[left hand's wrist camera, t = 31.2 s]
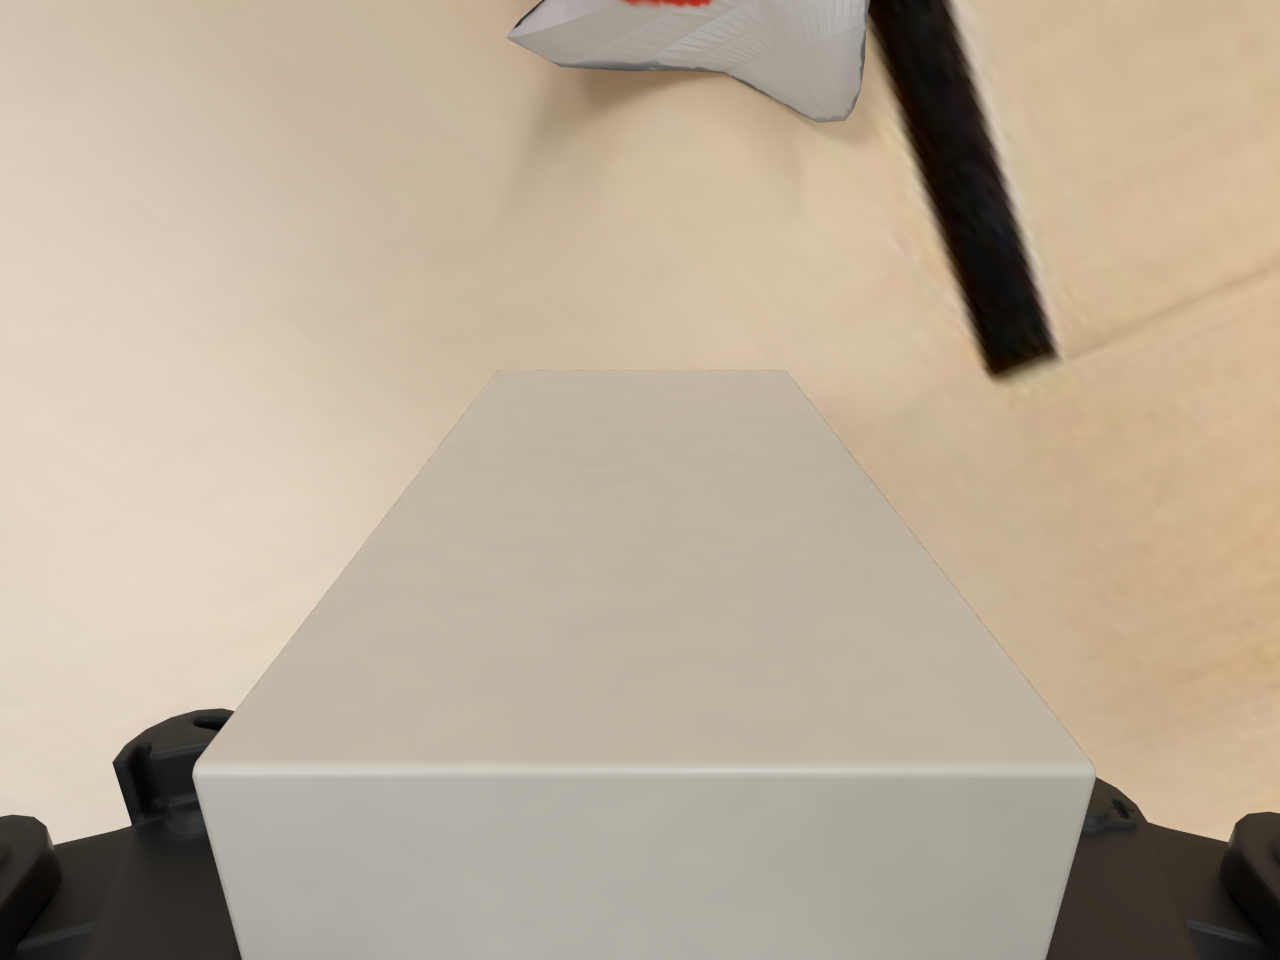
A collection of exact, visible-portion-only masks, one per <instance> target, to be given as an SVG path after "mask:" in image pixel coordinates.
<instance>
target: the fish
mask: <svg viewBox="0 0 1280 960" xmlns="http://www.w3.org/2000/svg"><path fill="white" fill-rule="evenodd" d="M869 2H870V0H542V1H541V2H540V3H539V4H538V5H536V6H535V7H534V8H533V9H532V10H531V11H530V12H529V13H527V14H526V15H525V16H524V17H523V18H522V19H521V20H520V21H519V22H518V23H517V25H516V26H515V27H514V28H513V30H512V31H511V32H510V34H509V35H508V36H507V37H506V38H507V39H509V40H511V41H513V42H515V43H517V44H518V45H520V46H522V47H524V48H526V49H528V50H530V51H532V52H534V53H536V54H538V55H540V56H541V57H543V58H545V59H547V60H549V61H551V62H553V63H555V64H557V65H559V66H561V67H572V68H589V69H606V70H623V71H658V70H687V71H703V72H718V73H726V74H728V75H730V76H732V77H733V78H735V79H737V80H739V81H741V82H743V83H745V84H746V85H748V86H750V87H752V88H754V89H756V90H758V91H760V92H762V93H764V94H766V95H768V96H770V97H772V98H774V99H776V100H778V101H780V102H782V103H783V104H785V105H786V106H788V107H790V108H791V109H793V110H795V111H796V112H798V113H799V114H801V115H803V116H805V117H808V118H810V119H812V120H814V121H816V122H834V121H845V120H846V119H847V117H848V116H849V114H850V113H851V112H852V110H853V109H854V106H855V103H856V100H857V98H858V95H859V92H860V89H861V82H862V75H863V67H864V60H865V39H866V20H867V14H868V8H869Z"/></svg>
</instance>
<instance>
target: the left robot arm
mask: <svg viewBox="0 0 1280 960" xmlns="http://www.w3.org/2000/svg"><path fill="white" fill-rule="evenodd" d="M234 712H235V711H231V710H226V709H222V708H221V709H207V710H197V711H193V712H189V713H186V714H182V715H179V716H175V717H171V718H169V719H167V720H165V721H163V722H161V723H159V724H157V725H155V726H153V727H150V728H148V729H146V730H145V731H144V732H142V733H141V734H140V735H138V736H137V737H136V738H134V739H133V740H132V741H130V742H129V743H128V744H126V745H125V746H124V748H123V749H122V750H121V752H120V753H119V754H118V756H117V757H116V758H115V760H114V761H113V762H112V763H113V766H114V769H115V772H116V776H117V779H118V782H119V785H120V788H121V791H122V794H123V798H124V801H125V804H126V807H127V810H128V813H129V816H130V820H131V823H132V825H131V826H129V827H126V828H123V829H119V830H116V831H112V832H108V833H104V834H99V835H95V836H91V837H86V838H82V839H78V840H74V841H70V842H65V843H61V844H57V845H53V843H52V841H51V838H50V835H49V833H48V830H47V827H46V826H45V825H44V824H43V823H41V822H40V821H39V820H37V819H36V818H35V817H29V816H20V815H8V816H3V817H0V960H242V958H241V954H240V950H239V947H238V943H237V939H236V936H235V932H234V928H233V925H232V921H231V917H230V914H229V910H228V906H227V903H226V899H225V895H224V891H223V888H222V884H221V880H220V877H219V873H218V869H217V866H216V862H215V858H214V855H213V851H212V847H211V844H210V840H209V836H208V832H207V829H206V825H205V821H204V818H203V814H202V810H201V807H200V803H199V799H198V796H197V792H196V788H195V784H194V781H193V777H192V775H193V769H194V765H195V763H196V761H197V760H198V759H199V757H200V756H201V755H202V753H203V752H204V751H205V750H206V748H207V747H208V746H209V744H210V743H211V742H212V740H213V739H214V738H215V737H216V735H217V734H218V733H219V731H220V730H221V729H222V727H223V726H224V725H225V724H226V722H227V721H228V720H229V718H230V717H231V716H232V714H233V713H234ZM1046 960H1280V814H1279V813H1274V812H1262V813H1252V814H1247V815H1246V816H1245V817H1243V818H1242V819H1241V820H1239V821H1238V822H1237V823H1236V824H1235V826H1234V829H1233V832H1232V835H1231V837H1230V840H1229V842H1224V841H1220V840H1216V839H1212V838H1207V837H1203V836H1199V835H1194V834H1190V833H1186V832H1182V831H1177V830H1173V829H1169V828H1165V827H1162V826H1158V825H1155V824H1152V823H1148V822H1147V820H1146V819H1145V817H1144V816H1143V814H1142V813H1141V811H1140V810H1139V808H1138V807H1137V805H1136V804H1135V803H1134V802H1132V801H1131V800H1130V799H1129V798H1128V797H1127V796H1125V795H1124V794H1123V793H1122V792H1121V791H1120V790H1118V789H1117V788H1116V787H1114V786H1112V785H1110V784H1108V783H1106V782H1104V781H1103V780H1101V779H1099V778H1097V777H1096V779H1095V783H1094V786H1093V790H1092V794H1091V797H1090V801H1089V804H1088V808H1087V812H1086V815H1085V819H1084V822H1083V826H1082V830H1081V833H1080V837H1079V841H1078V844H1077V848H1076V851H1075V855H1074V859H1073V862H1072V866H1071V870H1070V873H1069V877H1068V880H1067V884H1066V888H1065V891H1064V895H1063V898H1062V902H1061V906H1060V909H1059V913H1058V917H1057V920H1056V924H1055V927H1054V931H1053V935H1052V938H1051V942H1050V946H1049V949H1048V953H1047V956H1046Z"/></svg>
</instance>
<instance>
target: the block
mask: <svg viewBox="0 0 1280 960" xmlns="http://www.w3.org/2000/svg"><path fill="white" fill-rule="evenodd" d="M192 777H193V781H194V784H195V788H196V792H197V796H198V799H199V803H200V807H201V810H202V814H203V818H204V821H205V825H206V829H207V832H208V836H209V840H210V844H211V847H212V851H213V855H214V858H215V862H216V866H217V869H218V873H219V877H220V880H221V884H222V888H223V891H224V895H225V899H226V903H227V906H228V910H229V914H230V917H231V921H232V925H233V928H234V932H235V936H236V939H237V943H238V947H239V950H240V954H241V958H242V960H1046V956H1047V953H1048V949H1049V946H1050V942H1051V938H1052V935H1053V931H1054V927H1055V924H1056V920H1057V917H1058V913H1059V909H1060V906H1061V902H1062V898H1063V895H1064V891H1065V888H1066V884H1067V880H1068V877H1069V873H1070V870H1071V866H1072V862H1073V859H1074V855H1075V851H1076V848H1077V844H1078V841H1079V837H1080V833H1081V830H1082V826H1083V822H1084V819H1085V815H1086V812H1087V808H1088V804H1089V801H1090V797H1091V794H1092V790H1093V786H1094V783H1095V779H1096V773H1095V768H1094V765H1093V763H1092V761H1091V760H1090V759H1089V758H1088V756H1087V755H1086V754H1085V752H1084V751H1083V750H1082V749H1081V747H1080V746H1079V745H1078V743H1077V742H1076V741H1075V740H1074V738H1073V737H1072V736H1071V734H1070V733H1069V732H1068V731H1067V729H1066V728H1065V727H1064V726H1063V724H1062V723H1061V722H1060V720H1059V719H1058V718H1057V717H1056V715H1055V714H1054V713H1053V711H1052V710H1051V709H1050V708H1049V706H1048V705H1047V704H1046V703H1045V701H1044V700H1043V699H1042V697H1041V696H1040V695H1039V694H1038V692H1037V691H1036V690H1035V688H1034V687H1033V686H1032V685H1031V683H1030V682H1029V681H1028V679H1027V678H1026V677H1025V676H1024V674H1023V673H1022V672H1021V671H1020V669H1019V668H1018V667H1017V665H1016V664H1015V663H1014V662H1013V660H1012V659H1011V658H1010V656H1009V655H1008V654H1007V653H1006V651H1005V650H1004V649H1003V647H1002V646H1001V645H1000V644H999V642H998V641H997V640H996V639H995V637H994V636H993V635H992V633H991V632H990V631H989V630H988V628H987V627H986V626H985V624H984V623H983V622H982V621H981V619H980V618H979V617H978V616H977V614H976V613H975V612H974V610H973V609H972V608H971V607H970V605H969V604H968V603H967V601H966V600H965V599H964V598H963V596H962V595H961V594H960V592H959V591H958V590H957V589H956V587H955V586H954V585H953V584H952V582H951V581H950V580H949V578H948V577H947V576H946V575H945V573H944V572H943V571H942V569H941V568H940V567H939V566H938V564H937V563H936V562H935V560H934V559H933V558H932V557H931V555H930V554H929V553H928V552H927V550H926V549H925V548H924V546H923V545H922V544H921V543H920V541H919V540H918V539H917V537H916V536H915V535H914V534H913V532H912V531H911V530H910V528H909V527H908V526H907V525H906V523H905V522H904V521H903V520H902V518H901V517H900V516H899V514H898V513H897V512H896V511H895V509H894V508H893V507H892V505H891V504H890V503H889V502H888V500H887V499H886V498H885V497H884V495H883V494H882V493H881V491H880V490H879V489H878V488H877V486H876V485H875V484H874V482H873V481H872V480H871V479H870V477H869V476H868V475H867V473H866V472H865V471H864V470H863V468H862V467H861V466H860V465H859V463H858V462H857V461H856V459H855V458H854V457H853V456H852V454H851V453H850V452H849V450H848V449H847V448H846V447H845V445H844V444H843V443H842V441H841V440H840V439H839V438H838V436H837V435H836V434H835V433H834V431H833V430H832V429H831V427H830V426H829V425H828V424H827V422H826V421H825V420H824V418H823V417H822V416H821V415H820V413H819V412H818V411H817V409H816V408H815V407H814V406H813V404H812V403H811V402H810V401H809V399H808V398H807V397H806V395H805V394H804V393H803V392H802V390H801V389H800V388H799V386H798V385H797V384H796V383H795V381H794V380H793V379H792V378H791V376H790V375H789V374H788V372H787V371H785V370H499V371H497V372H496V373H495V374H494V376H493V377H492V378H491V380H490V381H489V382H488V383H487V385H486V386H485V387H484V389H483V390H482V391H481V393H480V394H479V395H478V396H477V398H476V399H475V400H474V402H473V403H472V404H471V405H470V407H469V408H468V409H467V411H466V412H465V413H464V415H463V416H462V417H461V418H460V420H459V421H458V422H457V424H456V425H455V426H454V428H453V429H452V430H451V431H450V433H449V434H448V435H447V437H446V438H445V439H444V441H443V442H442V443H441V444H440V446H439V447H438V448H437V450H436V451H435V452H434V454H433V455H432V456H431V457H430V459H429V460H428V461H427V463H426V464H425V465H424V467H423V468H422V469H421V470H420V472H419V473H418V474H417V476H416V477H415V478H414V479H413V481H412V482H411V483H410V485H409V486H408V487H407V489H406V490H405V491H404V492H403V494H402V495H401V496H400V498H399V499H398V500H397V502H396V503H395V504H394V505H393V507H392V508H391V509H390V511H389V512H388V513H387V515H386V516H385V517H384V518H383V520H382V521H381V522H380V524H379V525H378V526H377V528H376V529H375V530H374V531H373V533H372V534H371V535H370V537H369V538H368V539H367V541H366V542H365V543H364V544H363V546H362V547H361V548H360V550H359V551H358V552H357V553H356V555H355V556H354V557H353V559H352V560H351V561H350V563H349V564H348V565H347V566H346V568H345V569H344V570H343V572H342V573H341V574H340V576H339V577H338V578H337V579H336V581H335V582H334V583H333V585H332V586H331V587H330V589H329V590H328V591H327V592H326V594H325V595H324V596H323V598H322V599H321V600H320V602H319V603H318V604H317V605H316V607H315V608H314V609H313V611H312V612H311V613H310V615H309V616H308V617H307V618H306V620H305V621H304V622H303V624H302V625H301V626H300V627H299V629H298V630H297V631H296V633H295V634H294V635H293V637H292V638H291V639H290V640H289V642H288V643H287V644H286V646H285V647H284V648H283V650H282V651H281V652H280V653H279V655H278V656H277V657H276V659H275V660H274V661H273V663H272V664H271V665H270V666H269V668H268V669H267V670H266V672H265V673H264V674H263V676H262V677H261V678H260V679H259V681H258V682H257V683H256V685H255V686H254V687H253V689H252V690H251V691H250V692H249V694H248V695H247V696H246V698H245V699H244V700H243V701H242V703H241V704H240V705H239V707H238V708H237V709H236V711H235V712H234V713H233V714H232V716H231V717H230V718H229V720H228V721H227V722H226V724H225V725H224V726H223V727H222V729H221V730H220V731H219V733H218V734H217V735H216V737H215V738H214V739H213V740H212V742H211V743H210V744H209V746H208V747H207V748H206V750H205V751H204V752H203V753H202V755H201V756H200V757H199V759H198V760H197V761H196V763H195V765H194V769H193V775H192Z"/></svg>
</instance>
